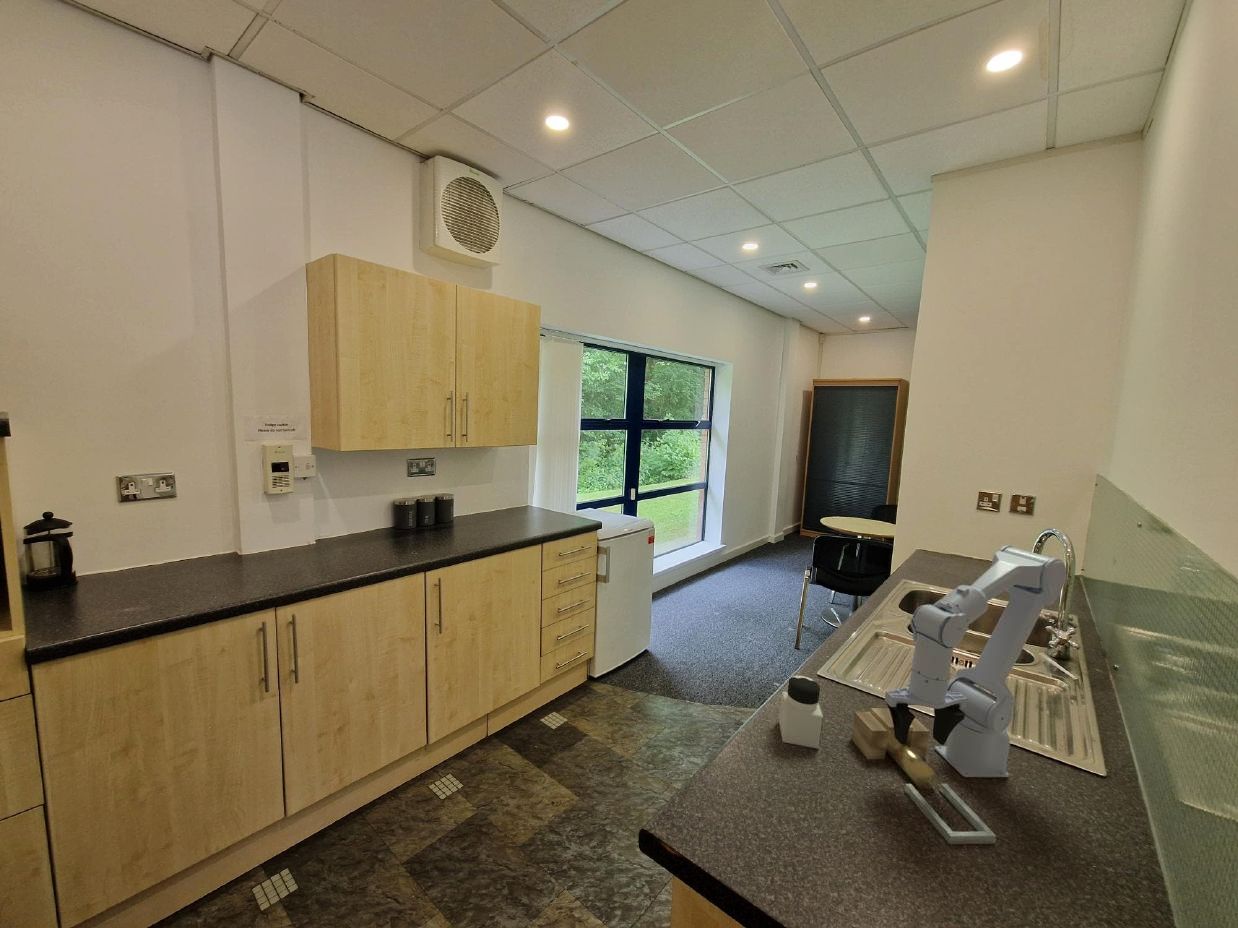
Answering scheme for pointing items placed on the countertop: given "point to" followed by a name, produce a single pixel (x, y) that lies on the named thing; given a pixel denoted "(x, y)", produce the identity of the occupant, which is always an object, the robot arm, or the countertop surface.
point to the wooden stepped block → (884, 733)
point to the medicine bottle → (801, 713)
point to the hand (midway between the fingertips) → (919, 740)
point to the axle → (911, 763)
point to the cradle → (952, 837)
